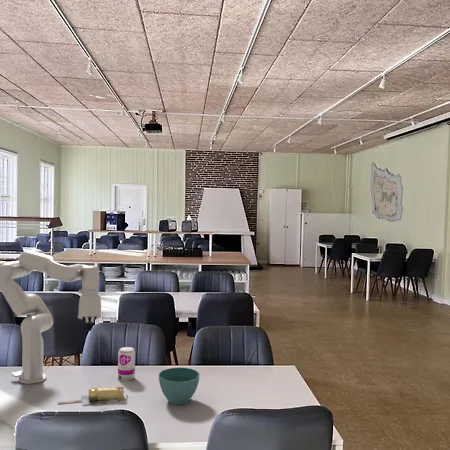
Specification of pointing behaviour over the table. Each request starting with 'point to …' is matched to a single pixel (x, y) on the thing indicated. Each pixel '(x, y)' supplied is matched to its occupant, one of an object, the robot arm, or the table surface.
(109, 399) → the keeper pad
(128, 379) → the supplement can
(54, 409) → the table surface
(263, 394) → the table surface
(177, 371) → the teal round bowl
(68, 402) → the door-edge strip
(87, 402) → the lock base plate
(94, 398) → the bar
